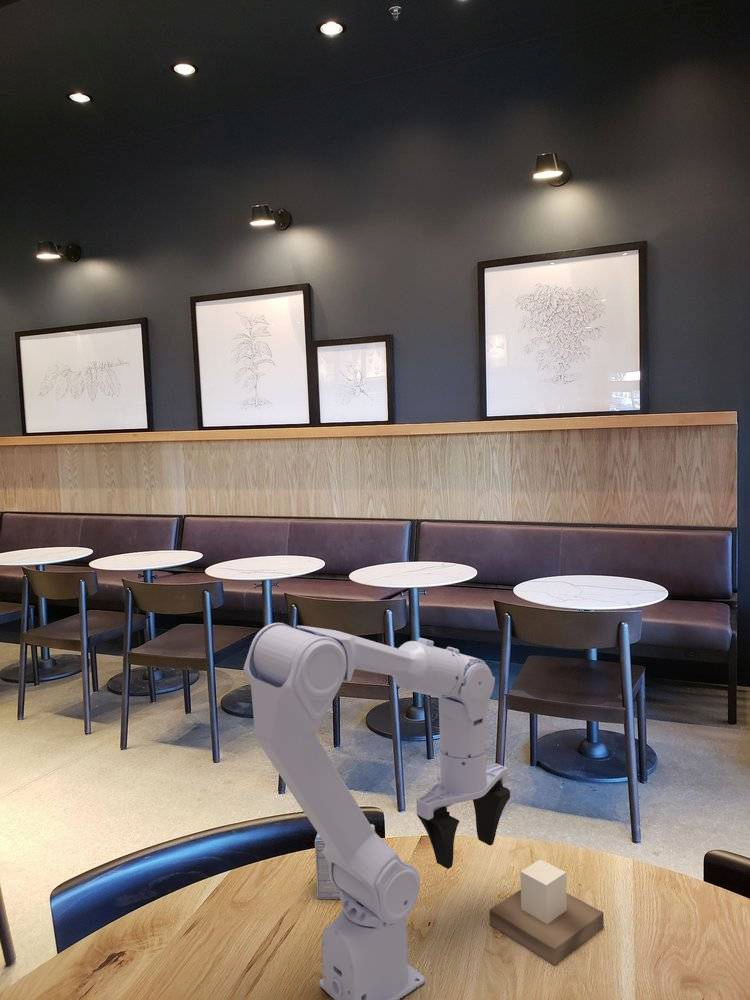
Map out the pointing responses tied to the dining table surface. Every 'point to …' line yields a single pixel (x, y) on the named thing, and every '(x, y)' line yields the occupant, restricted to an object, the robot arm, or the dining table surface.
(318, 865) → the medicine box
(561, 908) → the off-white block
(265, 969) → the dining table surface
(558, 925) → the walnut plinth
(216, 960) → the dining table surface
